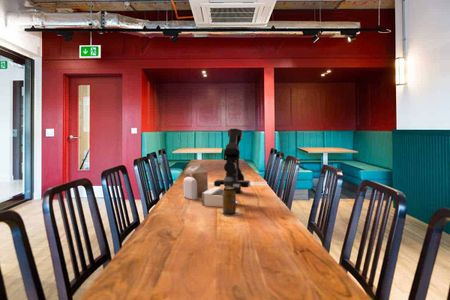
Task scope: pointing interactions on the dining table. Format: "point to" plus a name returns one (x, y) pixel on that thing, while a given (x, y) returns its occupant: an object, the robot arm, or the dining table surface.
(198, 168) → the milk carton
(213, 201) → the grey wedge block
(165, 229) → the dining table surface
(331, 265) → the dining table surface
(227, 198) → the condiment
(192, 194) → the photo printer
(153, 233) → the dining table surface
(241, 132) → the robot arm
